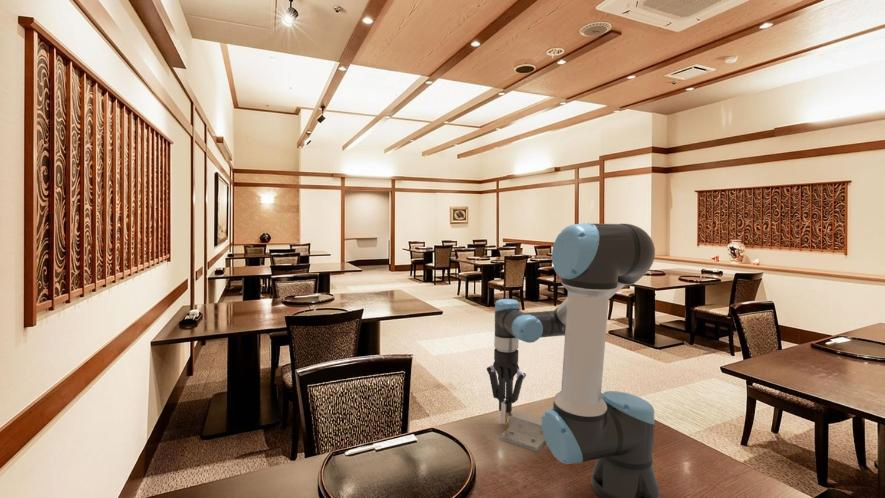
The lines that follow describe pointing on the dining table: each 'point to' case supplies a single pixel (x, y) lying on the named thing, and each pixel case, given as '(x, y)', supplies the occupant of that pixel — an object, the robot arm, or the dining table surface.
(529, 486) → the dining table surface
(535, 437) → the grey mounting bracket
